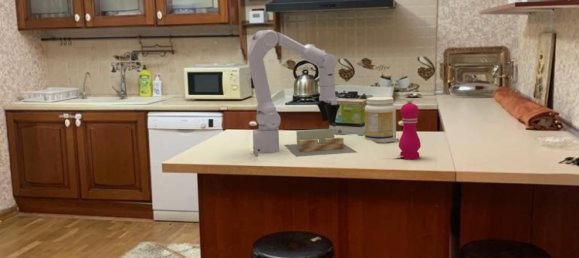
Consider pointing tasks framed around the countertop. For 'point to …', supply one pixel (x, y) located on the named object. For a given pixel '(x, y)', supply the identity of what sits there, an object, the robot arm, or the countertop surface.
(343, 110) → the tea box
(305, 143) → the oak slotted plate
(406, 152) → the pepper mill
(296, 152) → the board
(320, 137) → the sage notched plate
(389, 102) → the supplement tub
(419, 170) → the countertop surface
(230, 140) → the countertop surface
